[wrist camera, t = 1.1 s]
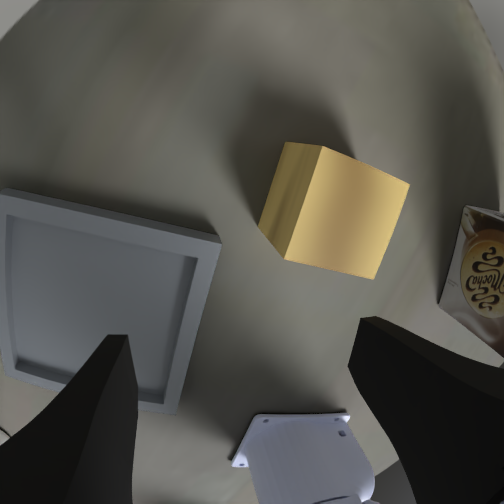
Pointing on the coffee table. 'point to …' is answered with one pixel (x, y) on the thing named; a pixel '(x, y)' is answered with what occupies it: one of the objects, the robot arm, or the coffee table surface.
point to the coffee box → (478, 276)
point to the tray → (99, 292)
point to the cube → (331, 210)
